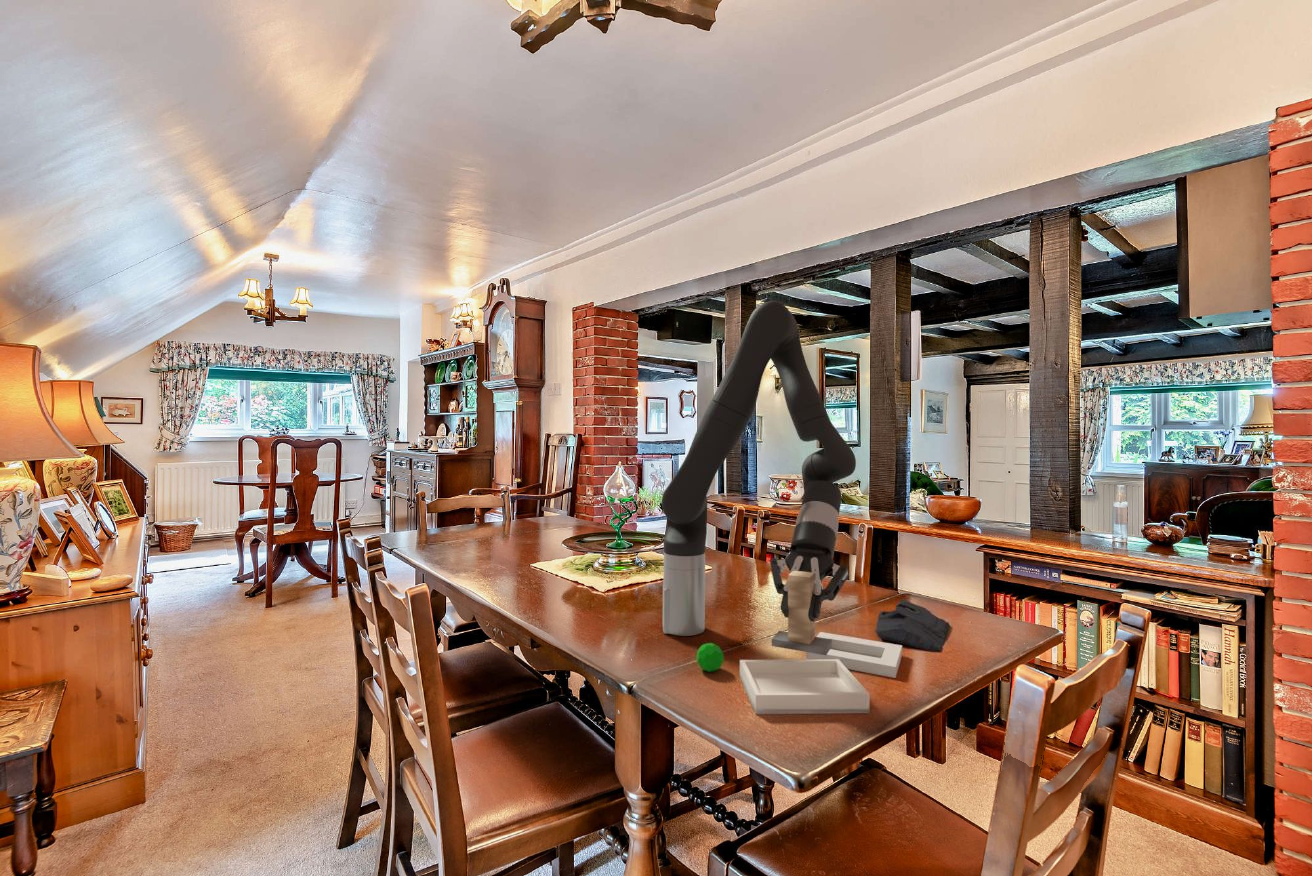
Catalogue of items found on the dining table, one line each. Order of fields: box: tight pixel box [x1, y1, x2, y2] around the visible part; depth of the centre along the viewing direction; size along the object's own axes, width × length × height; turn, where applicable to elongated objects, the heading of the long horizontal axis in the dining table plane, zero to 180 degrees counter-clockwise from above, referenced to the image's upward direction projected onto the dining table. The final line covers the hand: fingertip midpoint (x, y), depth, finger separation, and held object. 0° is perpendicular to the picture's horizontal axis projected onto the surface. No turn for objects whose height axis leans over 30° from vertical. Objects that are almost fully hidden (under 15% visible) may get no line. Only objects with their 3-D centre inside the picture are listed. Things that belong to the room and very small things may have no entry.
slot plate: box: [805, 631, 903, 679], centre depth 114 cm, size 16×12×2 cm
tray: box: [739, 658, 871, 715], centre depth 99 cm, size 18×14×3 cm
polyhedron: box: [695, 642, 725, 673], centre depth 108 cm, size 5×5×5 cm
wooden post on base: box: [771, 571, 832, 655], centre depth 99 cm, size 9×4×12 cm, turn 62°
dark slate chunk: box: [875, 599, 951, 653], centre depth 130 cm, size 15×22×5 cm
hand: (798, 616), depth 97 cm, fingers closed on wooden post on base, 3 cm apart
